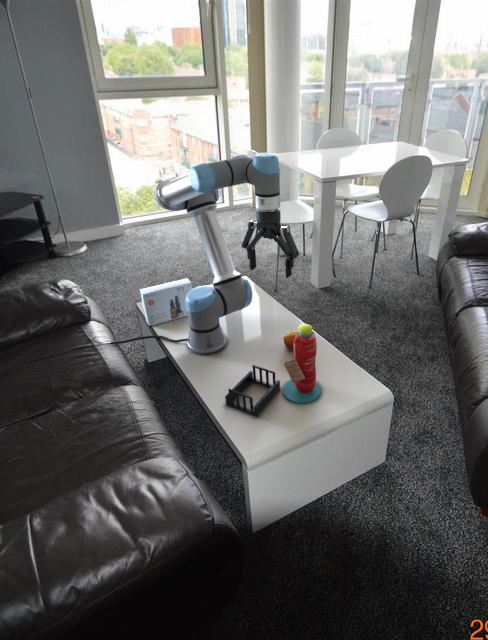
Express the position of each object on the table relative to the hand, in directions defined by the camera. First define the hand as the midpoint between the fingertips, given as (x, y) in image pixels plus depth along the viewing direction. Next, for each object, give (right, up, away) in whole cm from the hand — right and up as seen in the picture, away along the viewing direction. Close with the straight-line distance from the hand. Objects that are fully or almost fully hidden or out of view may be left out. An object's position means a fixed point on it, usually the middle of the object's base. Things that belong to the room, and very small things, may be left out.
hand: (270, 272), depth 146 cm
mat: (+11, -40, +6) cm, 42 cm away
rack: (-6, -42, +4) cm, 42 cm away
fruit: (+8, -25, +28) cm, 39 cm away
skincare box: (-46, -13, +49) cm, 68 cm away
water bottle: (+11, -40, +6) cm, 41 cm away
